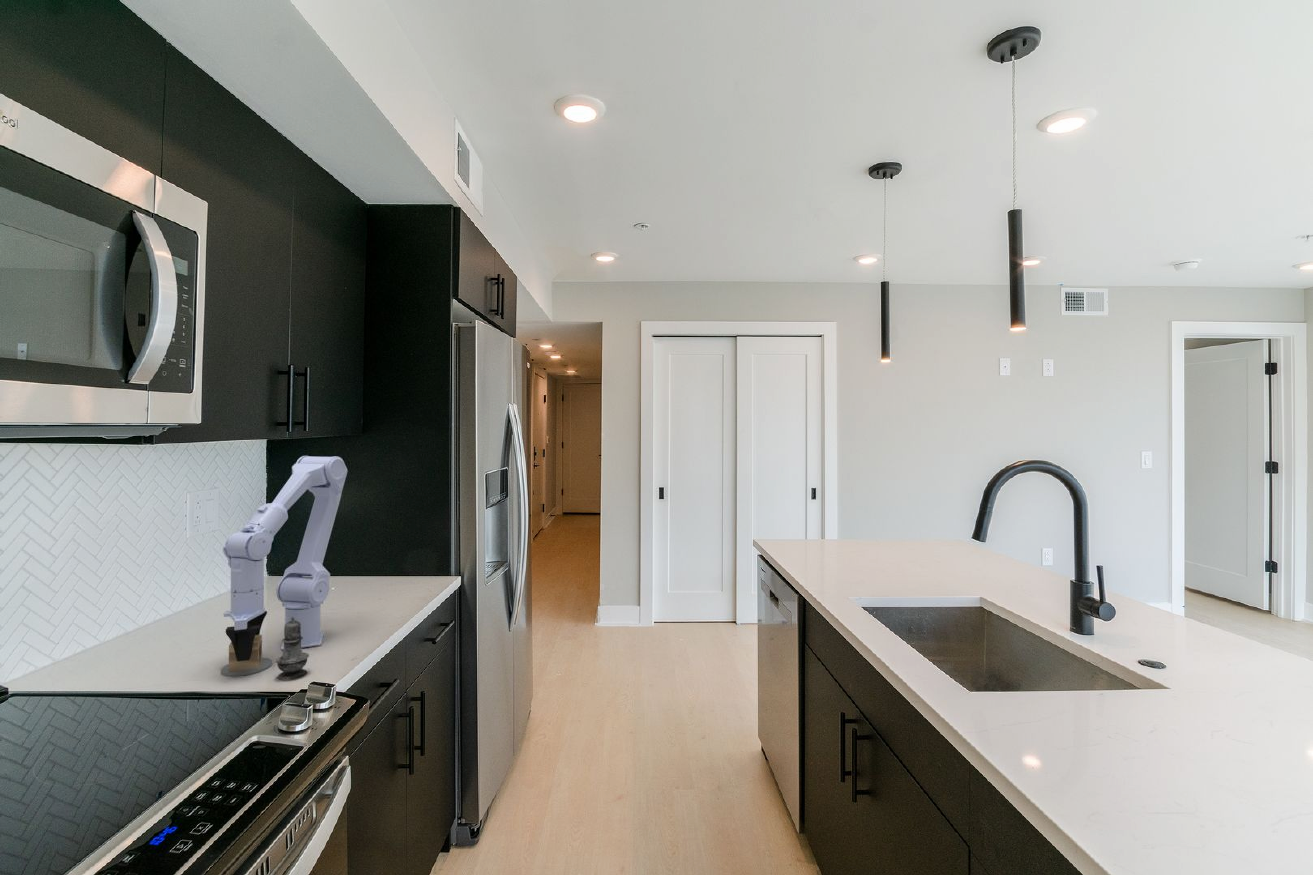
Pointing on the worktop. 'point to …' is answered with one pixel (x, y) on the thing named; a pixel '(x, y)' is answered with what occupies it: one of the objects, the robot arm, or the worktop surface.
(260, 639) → the slotted wooden block
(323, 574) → the robot arm
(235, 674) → the pad
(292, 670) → the dark grey stone ornament
